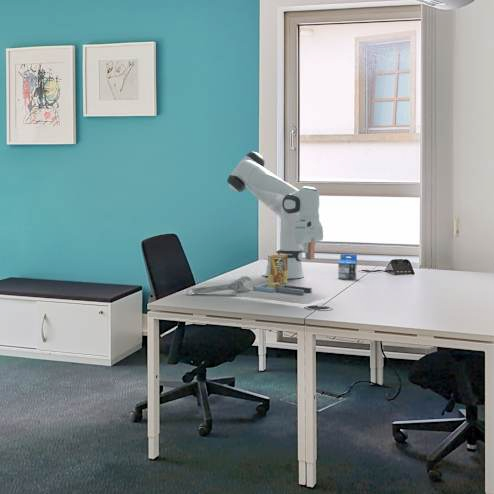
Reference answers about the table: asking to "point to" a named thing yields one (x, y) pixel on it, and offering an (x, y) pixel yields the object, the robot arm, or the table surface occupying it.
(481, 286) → the table surface
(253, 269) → the table surface
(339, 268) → the label tape cartridge
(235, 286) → the wrench
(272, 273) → the candy box
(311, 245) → the pinkish tan block
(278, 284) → the chip
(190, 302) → the table surface
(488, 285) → the table surface
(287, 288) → the channel
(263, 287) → the tray
